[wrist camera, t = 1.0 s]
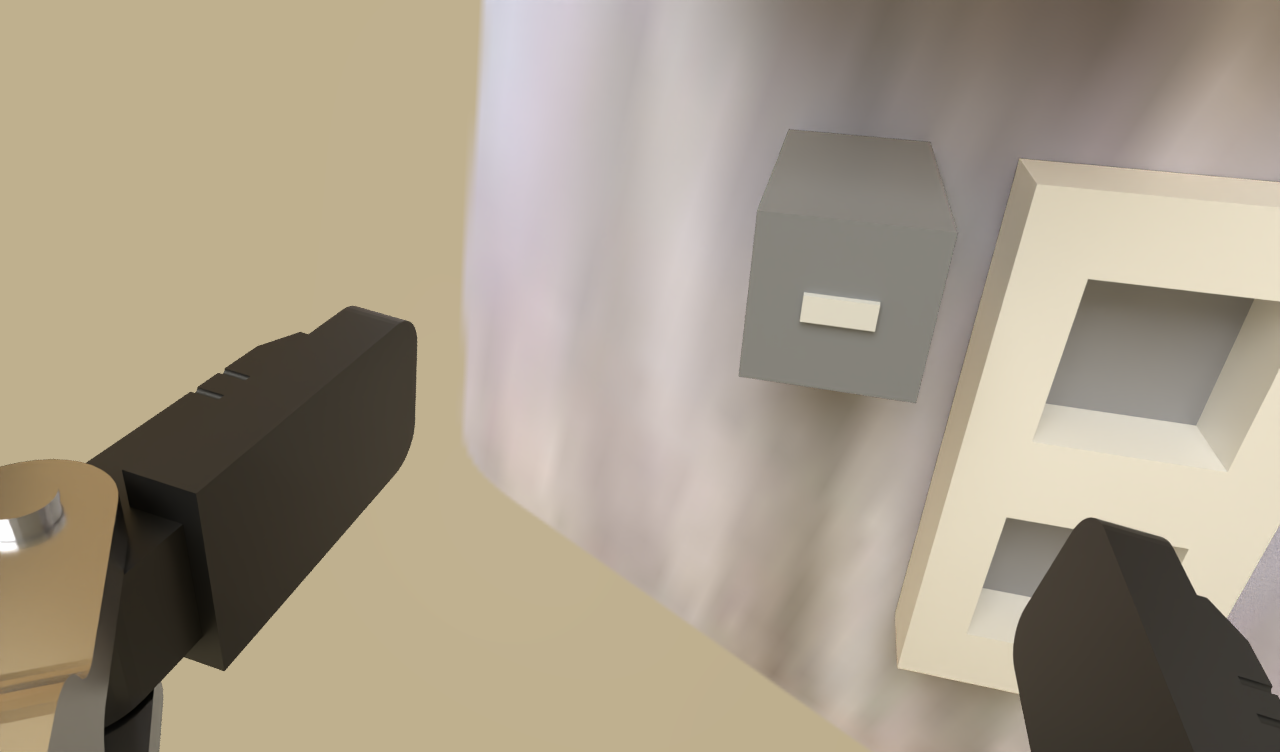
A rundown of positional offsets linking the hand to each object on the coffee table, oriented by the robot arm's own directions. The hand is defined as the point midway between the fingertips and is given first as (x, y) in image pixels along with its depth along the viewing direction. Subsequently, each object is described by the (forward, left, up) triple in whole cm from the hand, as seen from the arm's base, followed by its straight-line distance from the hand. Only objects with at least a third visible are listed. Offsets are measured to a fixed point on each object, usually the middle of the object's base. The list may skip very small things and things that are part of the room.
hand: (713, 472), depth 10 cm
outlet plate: (-12, +10, -20) cm, 25 cm away
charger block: (-2, +2, -20) cm, 20 cm away
